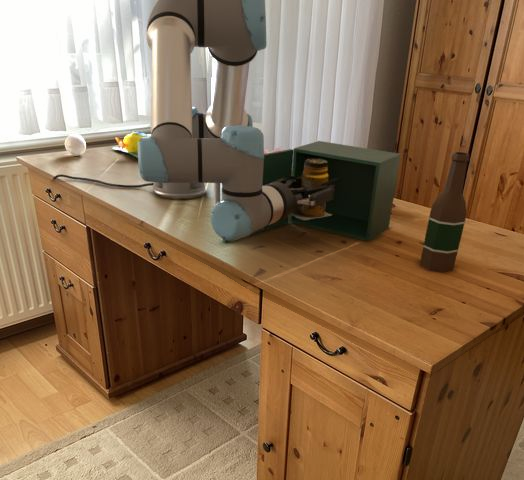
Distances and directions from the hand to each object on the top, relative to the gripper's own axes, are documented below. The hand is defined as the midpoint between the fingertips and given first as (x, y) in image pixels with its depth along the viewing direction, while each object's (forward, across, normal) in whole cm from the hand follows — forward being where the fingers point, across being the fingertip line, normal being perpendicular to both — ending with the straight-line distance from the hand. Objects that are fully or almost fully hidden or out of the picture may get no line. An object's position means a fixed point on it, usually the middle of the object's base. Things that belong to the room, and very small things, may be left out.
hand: (323, 181), depth 126 cm
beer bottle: (0, +30, -14) cm, 33 cm away
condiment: (-5, 0, -7) cm, 8 cm away
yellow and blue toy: (+34, -94, -14) cm, 101 cm away
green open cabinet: (+11, 0, -13) cm, 18 cm away
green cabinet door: (-7, -16, -13) cm, 22 cm away
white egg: (+19, -109, -14) cm, 112 cm away
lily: (+39, -40, -14) cm, 58 cm away
